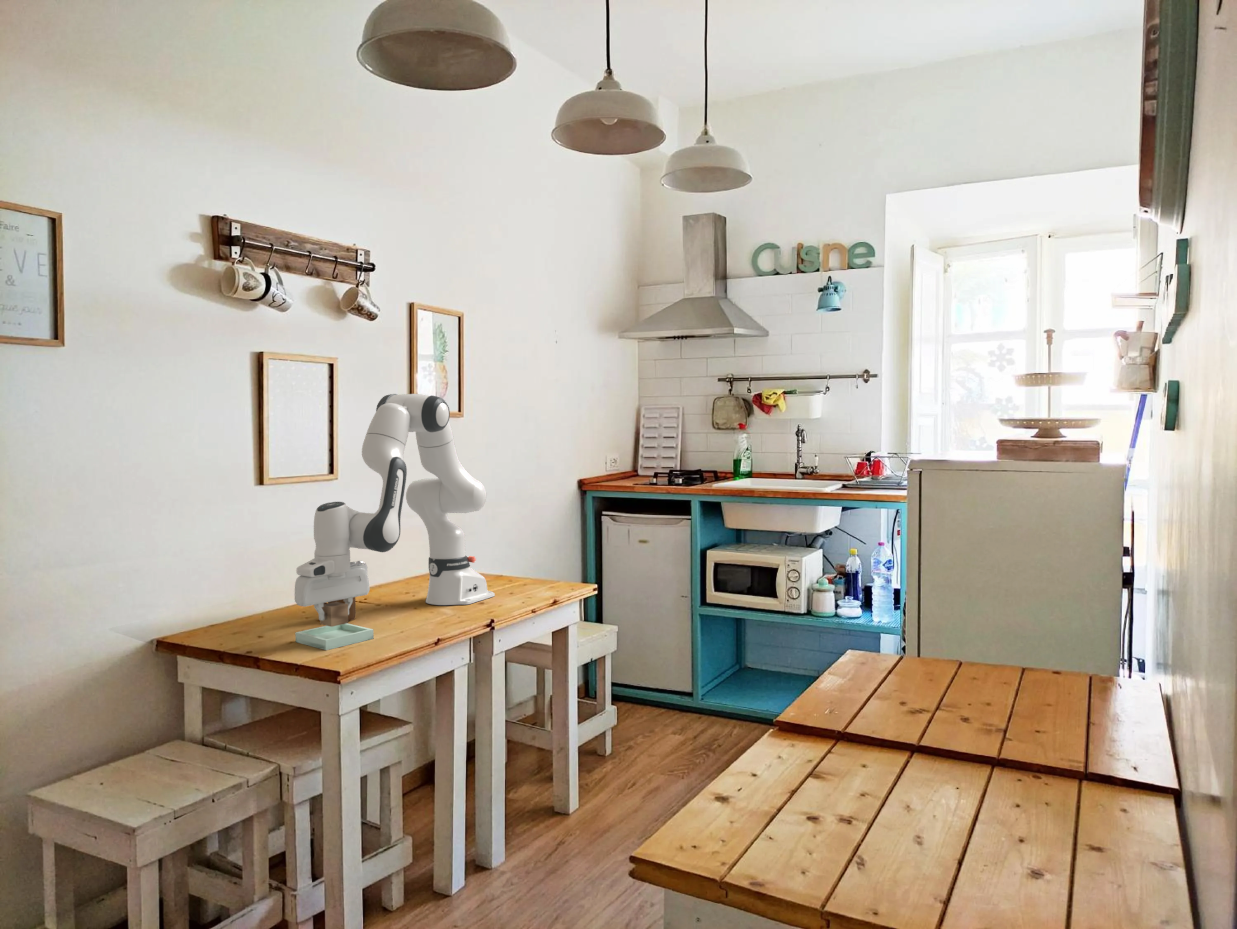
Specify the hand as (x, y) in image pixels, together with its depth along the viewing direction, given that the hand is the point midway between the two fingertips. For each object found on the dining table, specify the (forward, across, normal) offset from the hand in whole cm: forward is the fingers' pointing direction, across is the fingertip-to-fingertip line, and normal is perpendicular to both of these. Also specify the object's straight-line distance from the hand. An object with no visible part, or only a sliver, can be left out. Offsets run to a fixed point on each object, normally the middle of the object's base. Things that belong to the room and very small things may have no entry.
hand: (334, 617), depth 224 cm
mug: (+6, -13, -20) cm, 25 cm away
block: (+2, 0, 0) cm, 2 cm away
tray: (+6, 0, 0) cm, 6 cm away
